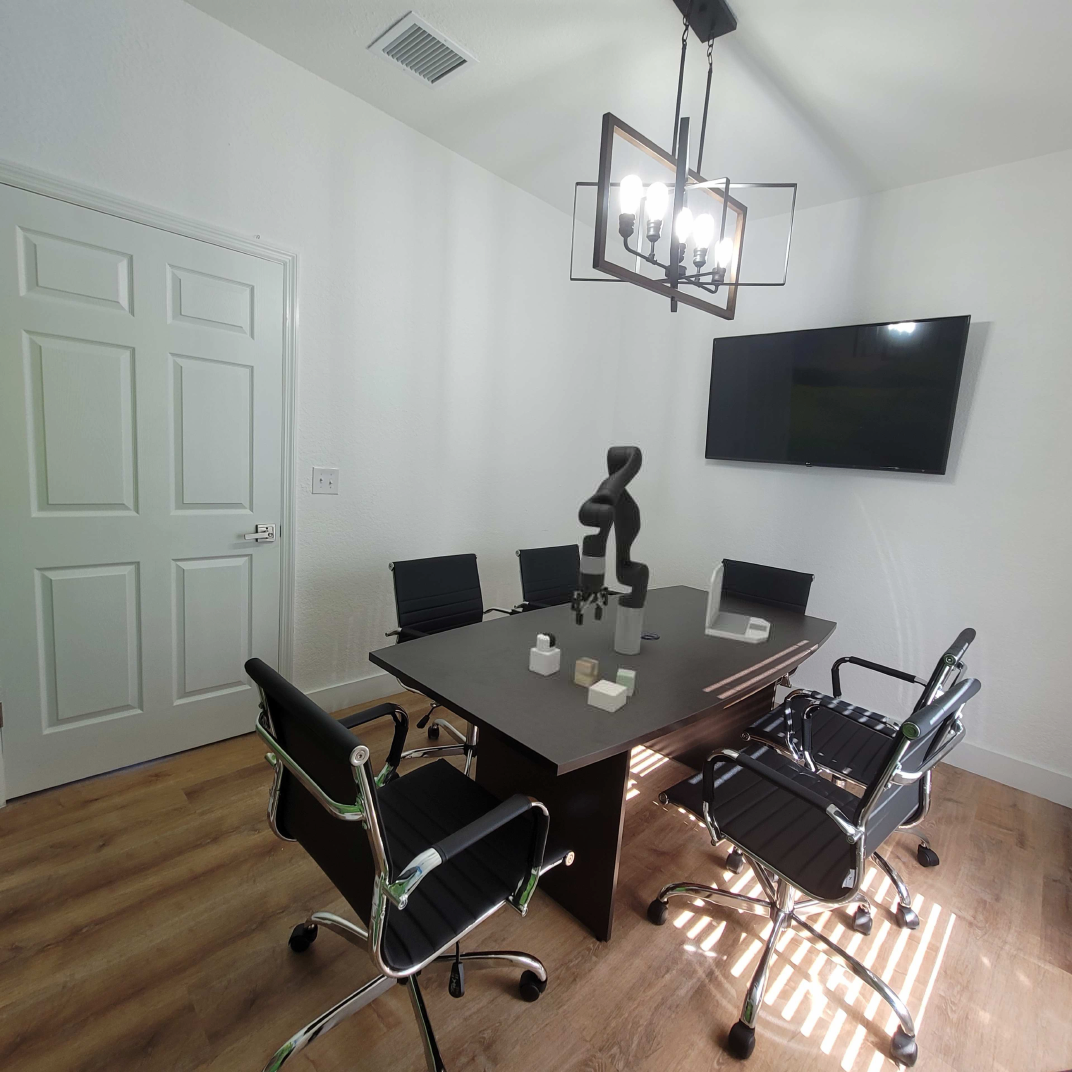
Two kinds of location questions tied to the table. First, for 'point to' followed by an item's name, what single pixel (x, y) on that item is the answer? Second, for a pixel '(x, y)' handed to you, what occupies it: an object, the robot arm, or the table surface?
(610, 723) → the table surface
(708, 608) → the laptop
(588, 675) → the maple block
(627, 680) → the sage block
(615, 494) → the robot arm
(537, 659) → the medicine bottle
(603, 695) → the cream base block
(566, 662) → the table surface
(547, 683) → the table surface
